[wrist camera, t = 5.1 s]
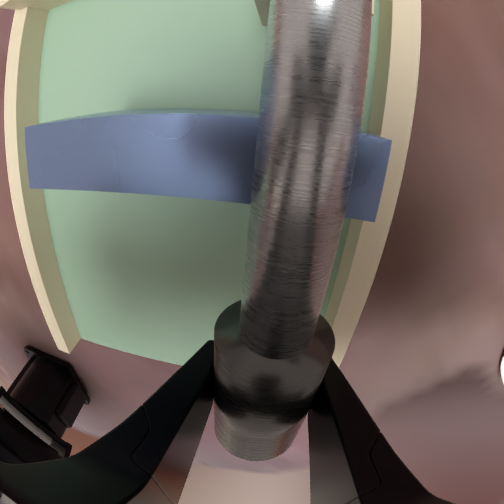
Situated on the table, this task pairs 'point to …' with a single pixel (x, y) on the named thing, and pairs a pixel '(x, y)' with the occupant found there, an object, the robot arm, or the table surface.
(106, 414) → the table surface
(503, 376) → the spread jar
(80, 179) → the rod
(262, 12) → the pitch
